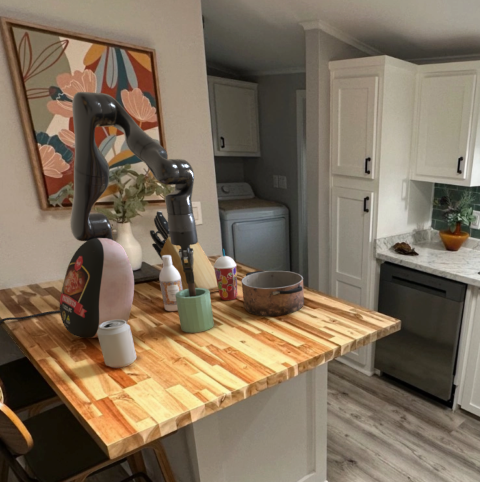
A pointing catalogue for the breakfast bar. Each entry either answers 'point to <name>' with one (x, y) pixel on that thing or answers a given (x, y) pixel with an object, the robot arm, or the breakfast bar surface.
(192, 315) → the jar
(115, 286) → the packaged food
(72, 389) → the breakfast bar surface
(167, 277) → the bath foam
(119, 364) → the can
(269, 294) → the cooking pot
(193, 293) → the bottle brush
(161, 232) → the knife block
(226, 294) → the smoothie
